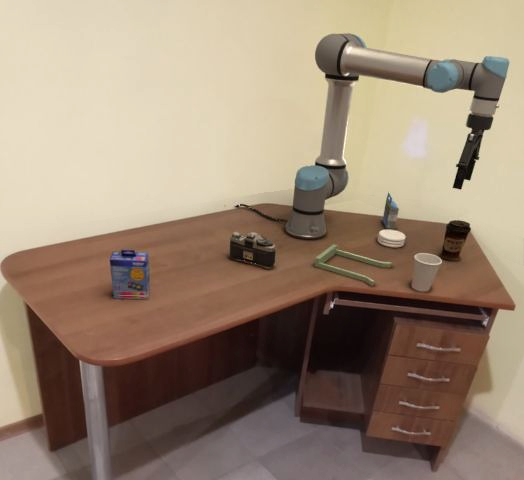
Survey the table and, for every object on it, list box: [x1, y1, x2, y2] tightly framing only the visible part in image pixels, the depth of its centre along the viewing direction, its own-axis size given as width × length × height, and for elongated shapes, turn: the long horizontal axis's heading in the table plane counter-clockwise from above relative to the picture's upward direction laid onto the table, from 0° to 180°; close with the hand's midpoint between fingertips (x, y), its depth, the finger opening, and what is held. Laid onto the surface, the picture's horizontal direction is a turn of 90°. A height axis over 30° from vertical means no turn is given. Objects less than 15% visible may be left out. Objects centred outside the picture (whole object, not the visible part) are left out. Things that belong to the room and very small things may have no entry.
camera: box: [229, 231, 277, 270], centre depth 170 cm, size 16×10×10 cm, turn 65°
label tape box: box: [382, 191, 400, 230], centre depth 207 cm, size 9×4×12 cm, turn 179°
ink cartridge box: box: [109, 249, 151, 300], centre depth 143 cm, size 10×6×14 cm, turn 95°
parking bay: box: [313, 243, 392, 287], centre depth 173 cm, size 21×18×3 cm
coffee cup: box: [440, 219, 472, 261], centre depth 184 cm, size 9×8×13 cm
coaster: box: [377, 229, 406, 249], centre depth 194 cm, size 10×10×4 cm
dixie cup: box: [411, 252, 443, 293], centre depth 162 cm, size 8×8×10 cm
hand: (461, 184), depth 171 cm, fingers open, 13 cm apart
